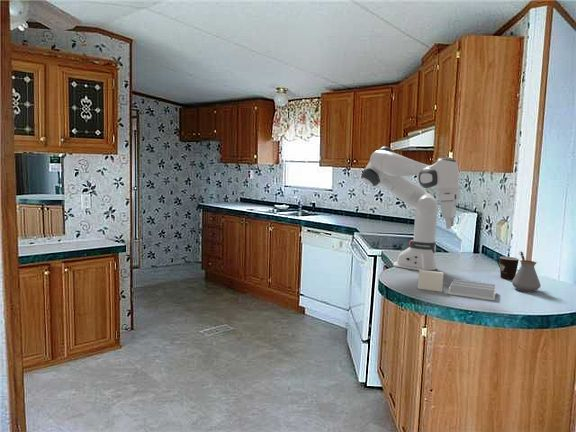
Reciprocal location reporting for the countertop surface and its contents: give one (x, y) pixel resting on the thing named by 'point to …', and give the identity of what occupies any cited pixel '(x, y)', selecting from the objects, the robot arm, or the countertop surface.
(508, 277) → the coffee mug
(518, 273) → the coffee pot
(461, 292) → the dish rack
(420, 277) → the ceramic tile
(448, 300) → the countertop surface
